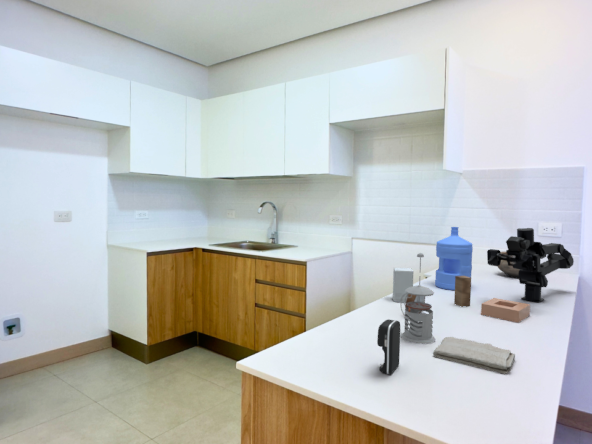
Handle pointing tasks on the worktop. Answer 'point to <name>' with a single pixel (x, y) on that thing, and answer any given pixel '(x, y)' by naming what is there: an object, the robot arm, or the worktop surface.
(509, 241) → the robot arm
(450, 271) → the water jug
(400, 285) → the supplement box
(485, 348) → the washcloth
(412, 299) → the tin
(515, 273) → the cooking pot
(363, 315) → the worktop surface
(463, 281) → the peg
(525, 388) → the worktop surface
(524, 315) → the socket
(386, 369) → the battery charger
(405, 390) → the worktop surface
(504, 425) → the worktop surface
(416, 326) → the french press
